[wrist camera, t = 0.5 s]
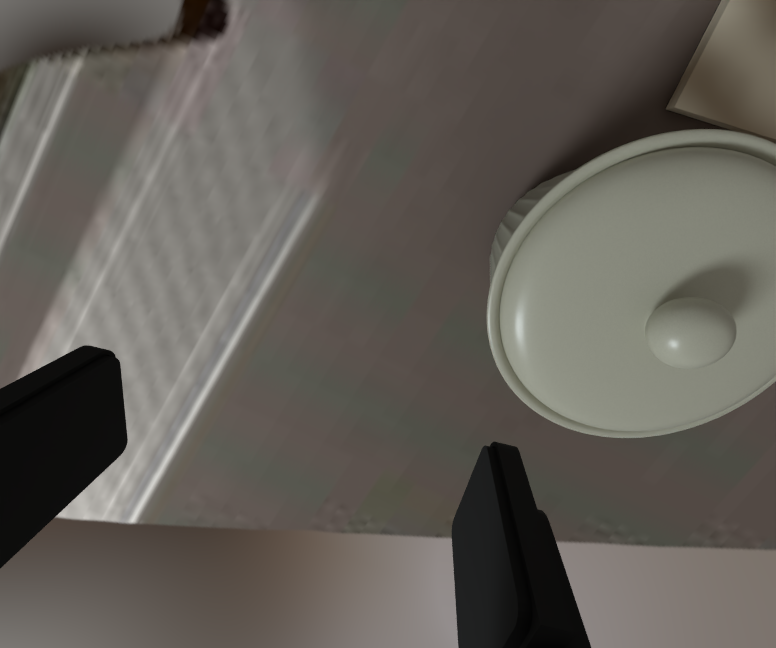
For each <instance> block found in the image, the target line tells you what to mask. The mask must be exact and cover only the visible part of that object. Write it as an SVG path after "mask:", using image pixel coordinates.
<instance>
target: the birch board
mask: <svg viewBox="0 0 776 648" xmlns="http://www.w3.org/2000/svg"><path fill="white" fill-rule="evenodd" d="M666 110H669V111H672V112H675V113H679V114H682V115H685V116H688V117H691V118H694V119H698V120H701V121H704V122H707V123H710V124H713V125H717V126H720V127H723V128H726V129H729V130H732V131H736V132H741V133H746V134H750V135H754V136H757V137H760V138H763V139H766V140H768V141H771V142H773V143H775V144H776V0H721V2H720V4H719V6H718V8H717V10H716V12H715V14H714V16H713V18H712V20H711V22H710V24H709V25H708V27H707V29H706V31H705V33H704V35H703V37H702V39H701V41H700V43H699V45H698V47H697V49H696V51H695V53H694V55H693V57H692V59H691V61H690V62H689V64H688V66H687V68H686V70H685V72H684V74H683V76H682V78H681V80H680V82H679V84H678V86H677V88H676V90H675V92H674V94H673V96H672V98H671V99H670V101H669V103H668V105H667V107H666Z"/></svg>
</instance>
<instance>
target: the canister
mask: <svg viewBox="0 0 776 648" xmlns="http://www.w3.org/2000/svg"><path fill="white" fill-rule="evenodd" d="M491 248H492V252H491V255H490V283H491V285H490V289H489V295H488V302H487V331H488V338H489V343H490V347H491V351H492V354H493V357H494V359H495V362H496V364H497V367H498V369H499V371H500V372H501V374H502V376H503V378H504V379H505V381H506V382H507V384H508V385H509V387H510V388H511V389H512V390H513V392H514V393H515V394H516V395H517V396H518V397H519V398H520V399H521V400H522V401H523V402H524V403H525V404H526V405H528V406H529V407H530V408H531V409H533V410H534V411H535V412H537V413H538V414H540V415H541V416H543V417H545V418H547V419H548V420H550V421H552V422H554V423H556V424H559V425H561V426H563V427H566V428H569V429H572V430H575V431H578V432H582V433H586V434H591V435H597V436H603V437H614V438H639V437H650V436H658V435H664V434H669V433H674V432H678V431H682V430H685V429H689V428H692V427H695V426H698V425H701V424H704V423H706V422H709V421H711V420H714V419H716V418H718V417H720V416H722V415H725V414H727V413H729V412H731V411H732V410H734V409H736V408H738V407H740V406H741V405H743V404H745V403H746V402H748V401H750V400H751V399H753V398H754V397H756V396H757V395H759V394H760V393H761V392H763V391H764V390H765V389H767V388H768V387H769V386H770V385H772V384H773V383H774V382H775V381H776V144H775V143H773V142H771V141H768V140H766V139H763V138H760V137H757V136H754V135H750V134H746V133H741V132H736V131H729V130H720V129H691V130H680V131H673V132H666V133H661V134H657V135H652V136H649V137H645V138H641V139H638V140H635V141H632V142H629V143H627V144H624V145H621V146H619V147H617V148H614V149H612V150H610V151H608V152H606V153H604V154H602V155H600V156H598V157H596V158H594V159H592V160H590V161H589V162H587V163H585V164H584V165H582V166H581V167H579V168H578V169H576V170H573V171H569V172H567V173H564V174H561V175H559V176H556V177H554V178H552V179H551V180H548V181H545V182H542V183H540V184H539V185H538V186H537V187H536V188H534V189H532V190H530V191H528V192H527V193H526V195H525V196H523V197H522V198H521V199H519V200H517V202H516V204H515V205H514V206H513V207H512V208H511V209H510V210H508V213H507V215H506V216H505V218H504V219H503V220H502V221H501V223H500V226H499V228H498V230H497V231H496V233H495V239H494V242H493V243H492V246H491Z"/></svg>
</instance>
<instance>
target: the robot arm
mask: <svg viewBox="0 0 776 648" xmlns="http://www.w3.org/2000/svg"><path fill="white" fill-rule="evenodd" d="M126 445H127V430H126V419H125V409H124V399H123V388H122V378H121V368H120V362H119V360H118V359H117V358H116V357H115V354H114V353H113V352H112V351H110V350H106V349H101V348H97V347H93V346H82V347H79V348H78V349H76V350H74V351H72V352H70V353H68V354H66V355H64V356H62V357H60V358H58V359H57V360H55V361H53V362H51V363H49V364H47V365H45V366H43V367H41V368H39V369H37V370H36V371H34V372H32V373H30V374H28V375H26V376H24V377H22V378H20V379H18V380H16V381H15V382H13V383H11V384H9V385H7V386H5V387H3V388H1V389H0V568H1V567H2V566H3V565H4V564H6V562H8V561H9V560H10V559H11V558H12V557H13V556H14V555H15V554H16V553H17V552H18V551H19V550H20V549H21V548H22V547H24V546H25V545H26V544H27V543H28V542H29V541H30V540H31V539H32V538H33V537H34V536H35V535H36V534H37V533H38V532H40V531H41V530H42V529H43V527H45V526H46V525H47V524H48V523H49V522H50V521H51V520H52V519H53V518H54V517H55V516H56V515H58V514H59V513H60V512H61V511H62V510H63V509H64V508H65V507H66V506H67V505H68V504H69V503H70V502H71V501H72V500H73V499H75V498H76V497H77V496H78V495H79V494H80V493H81V492H82V491H83V490H84V489H85V488H86V487H87V486H88V485H89V484H90V483H92V482H93V481H94V480H95V479H96V478H97V477H98V476H99V475H100V474H101V473H102V472H103V471H104V470H105V469H106V468H107V467H109V466H110V465H111V464H112V463H113V462H114V461H115V460H116V459H117V458H118V457H119V456H120V455H121V454H122V453H123V451H124V450H125V448H126ZM452 547H453V563H454V580H455V596H456V613H457V629H458V645H459V648H591V646H590V642H589V640H588V636H587V634H586V631H585V628H584V625H583V622H582V619H581V616H580V613H579V610H578V607H577V604H576V601H575V598H574V595H573V592H572V589H571V586H570V583H569V580H568V577H567V574H566V571H565V568H564V565H563V562H562V559H561V556H560V553H559V550H558V547H557V544H556V541H555V538H554V535H553V532H552V529H551V526H550V523H549V520H548V518H547V516H546V514H545V513H544V512H543V511H542V510H537V507H536V504H535V501H534V497H533V494H532V491H531V488H530V485H529V481H528V478H527V475H526V472H525V469H524V465H523V462H522V459H521V456H520V453H519V450H518V448H517V447H515V446H511V445H506V444H502V443H498V442H493V443H492V444H491V445H490V447H489V446H484V447H483V448H482V450H481V453H480V455H479V458H478V460H477V463H476V465H475V468H474V470H473V472H472V475H471V477H470V480H469V482H468V485H467V487H466V490H465V492H464V495H463V497H462V500H461V502H460V505H459V507H458V510H457V512H456V515H455V517H454V520H453V525H452Z"/></svg>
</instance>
